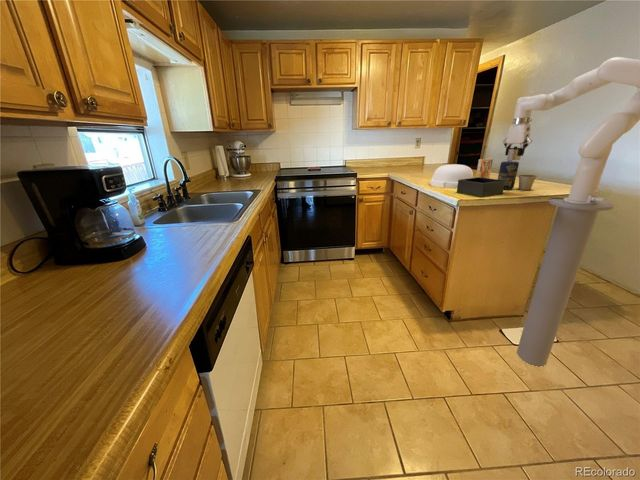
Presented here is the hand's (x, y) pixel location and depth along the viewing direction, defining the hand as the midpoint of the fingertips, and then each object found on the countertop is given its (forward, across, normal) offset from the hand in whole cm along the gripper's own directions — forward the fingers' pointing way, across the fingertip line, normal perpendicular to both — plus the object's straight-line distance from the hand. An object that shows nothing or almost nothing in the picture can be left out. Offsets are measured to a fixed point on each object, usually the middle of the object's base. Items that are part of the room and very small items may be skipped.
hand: (513, 155), depth 153 cm
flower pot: (+22, +1, -18) cm, 28 cm away
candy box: (+22, +44, -34) cm, 60 cm away
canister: (+22, +9, -10) cm, 26 cm away
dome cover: (+22, +40, +2) cm, 45 cm away
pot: (+3, 0, 0) cm, 3 cm away
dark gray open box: (+22, +8, +14) cm, 27 cm away
